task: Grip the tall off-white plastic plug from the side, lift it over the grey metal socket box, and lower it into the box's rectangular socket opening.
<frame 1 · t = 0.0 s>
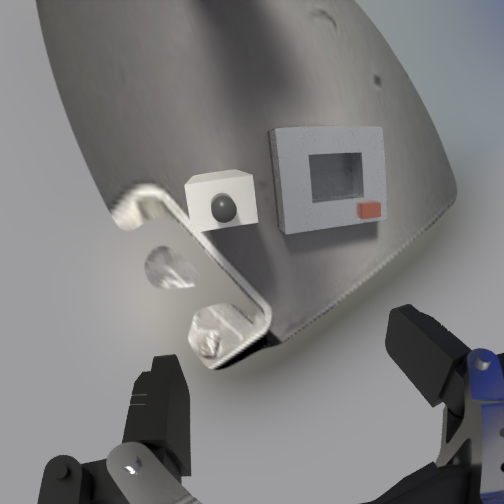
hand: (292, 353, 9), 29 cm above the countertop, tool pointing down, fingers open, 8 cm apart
socket box: (325, 174, 37), on the countertop
plug: (216, 187, 36), on the countertop
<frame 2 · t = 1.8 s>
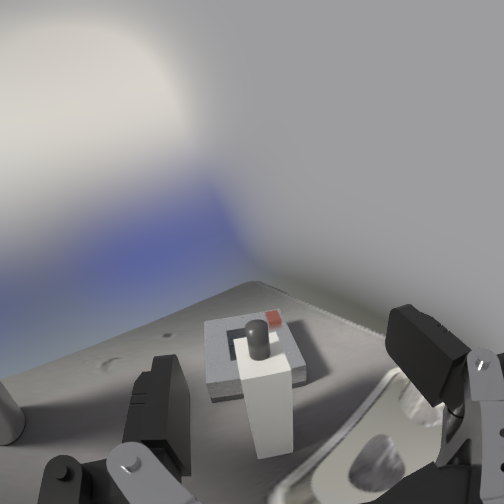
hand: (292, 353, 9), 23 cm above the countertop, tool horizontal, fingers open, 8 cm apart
socket box: (251, 361, 42), on the countertop
plug: (270, 438, 28), on the countertop
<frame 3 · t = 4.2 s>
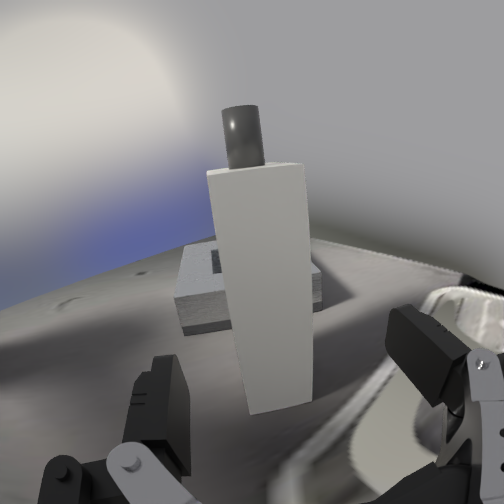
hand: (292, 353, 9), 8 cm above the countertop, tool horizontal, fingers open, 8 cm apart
socket box: (243, 289, 32), on the countertop
plug: (272, 380, 18), on the countertop
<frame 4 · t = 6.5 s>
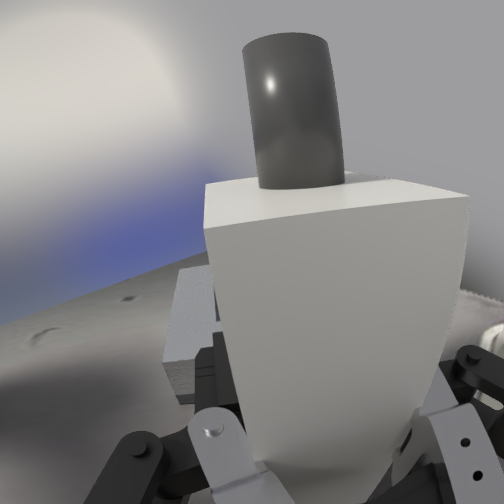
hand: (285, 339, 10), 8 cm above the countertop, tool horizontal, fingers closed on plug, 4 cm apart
socket box: (255, 330, 24), on the countertop
plug: (304, 483, 10), on the countertop, touching gripper
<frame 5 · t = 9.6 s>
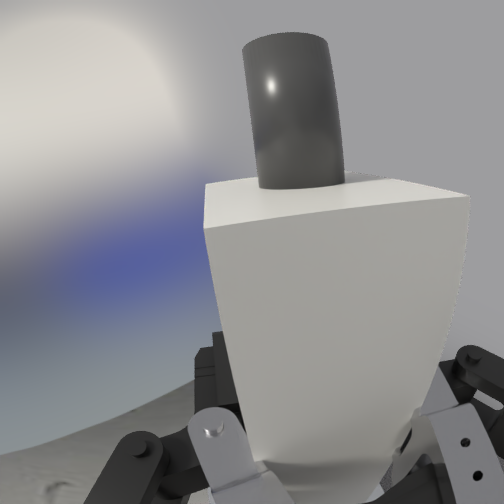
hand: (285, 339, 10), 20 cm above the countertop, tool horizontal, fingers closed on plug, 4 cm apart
plug: (304, 483, 10), point 12 cm above the countertop, touching gripper
when the fingers open (10 cm above the countertop, at t = 12.8 s): plug drops 1 cm, resting on socket box.
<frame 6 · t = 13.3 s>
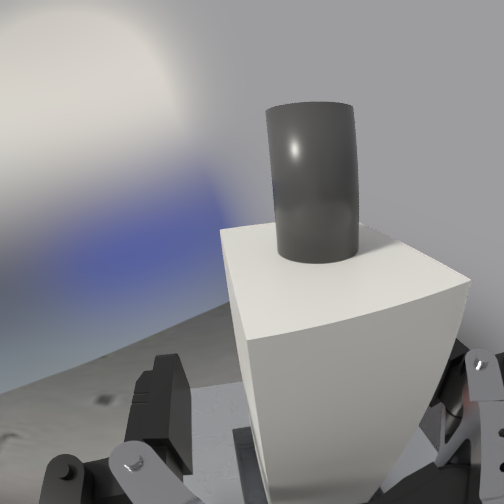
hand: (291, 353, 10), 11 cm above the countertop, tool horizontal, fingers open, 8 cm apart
socket box: (302, 496, 11), on the countertop
plug: (303, 492, 11), point 1 cm above the countertop, touching socket box
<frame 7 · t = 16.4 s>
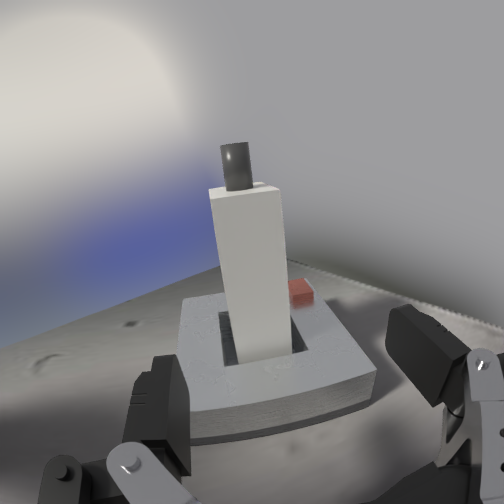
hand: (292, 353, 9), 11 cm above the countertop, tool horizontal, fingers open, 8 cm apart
socket box: (262, 365, 23), on the countertop
plug: (261, 358, 23), point 1 cm above the countertop, touching socket box
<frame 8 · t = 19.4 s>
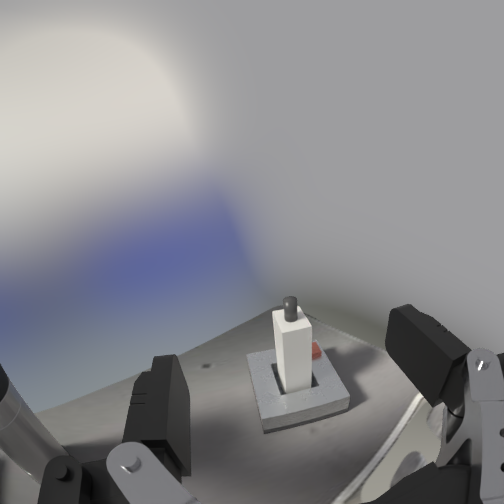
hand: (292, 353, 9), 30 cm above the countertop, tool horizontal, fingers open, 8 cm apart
socket box: (294, 390, 43), on the countertop
plug: (294, 387, 42), point 1 cm above the countertop, touching socket box
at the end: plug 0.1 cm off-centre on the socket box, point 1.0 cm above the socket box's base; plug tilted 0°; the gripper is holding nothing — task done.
